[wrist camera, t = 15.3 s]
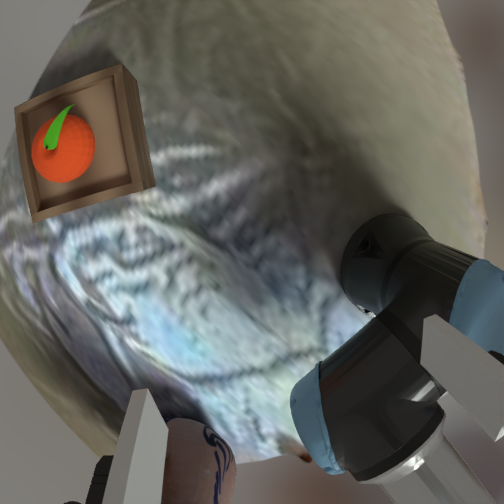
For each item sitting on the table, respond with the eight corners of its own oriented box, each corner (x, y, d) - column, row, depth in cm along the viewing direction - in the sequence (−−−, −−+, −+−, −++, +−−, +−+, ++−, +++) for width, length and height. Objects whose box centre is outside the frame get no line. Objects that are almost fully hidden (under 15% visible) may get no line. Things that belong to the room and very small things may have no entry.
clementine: (65, 104, 28) (35, 92, 21) (117, 118, 29) (94, 106, 23) (43, 171, 30) (10, 174, 23) (93, 188, 31) (65, 194, 24)
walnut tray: (136, 80, 34) (121, 63, 27) (156, 186, 38) (143, 190, 30) (42, 114, 33) (14, 107, 26) (60, 213, 37) (33, 223, 29)
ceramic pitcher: (167, 470, 50) (162, 575, 26) (102, 400, 45) (61, 522, 21) (247, 449, 51) (268, 564, 27) (192, 371, 45) (188, 517, 21)
